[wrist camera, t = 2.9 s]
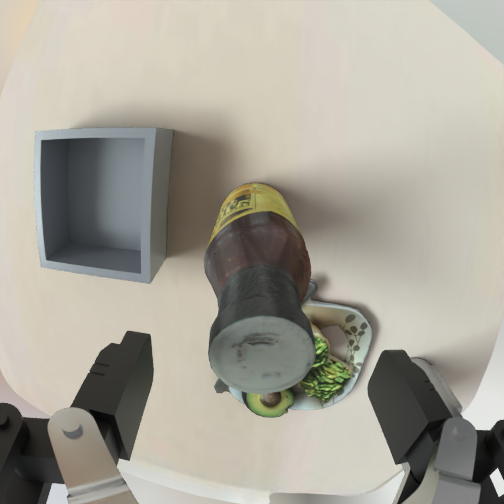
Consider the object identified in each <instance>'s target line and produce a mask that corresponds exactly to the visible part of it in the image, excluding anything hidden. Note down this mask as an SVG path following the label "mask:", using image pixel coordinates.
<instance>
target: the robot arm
mask: <svg viewBox="0 0 504 504" xmlns="http://www.w3.org/2000/svg"><path fill="white" fill-rule="evenodd" d="M153 373H154V368H153V357H152V345H151V336H150V334H146V333H140V332H134V331H127V332H126V334H125V336H124V338H123V340H122V342H121V343H120V344H115V343H111V344H109V345H108V346H107V347H105V348H104V349H103V350H101V351H100V353H99V355H98V357H97V358H96V360H95V363H94V364H93V366H92V367H91V369H90V373H88V375H87V377H86V378H85V380H84V382H83V384H82V386H81V388H80V390H79V391H78V393H77V395H76V397H75V399H74V401H73V403H72V405H71V406H70V408H64V409H61V410H59V411H57V412H56V413H55V414H53V415H52V417H51V418H50V419H40V418H26V417H22V415H21V413H20V412H19V410H18V409H17V408H16V407H15V406H13V405H11V404H8V403H0V504H46V502H47V499H48V495H49V492H50V489H51V485H52V483H58V484H65V485H66V487H67V490H68V493H69V495H68V496H67V500H68V503H69V504H138V502H137V500H136V499H135V497H134V495H133V494H132V492H131V490H130V489H129V487H128V485H127V483H126V482H125V480H124V479H123V477H122V476H121V474H120V472H119V470H118V468H117V464H118V460H119V458H120V459H124V460H128V461H130V457H131V454H132V450H133V447H134V443H135V439H136V436H137V432H138V429H139V426H140V422H141V419H142V415H143V412H144V409H145V406H146V402H147V399H148V396H149V393H150V389H151V386H152V382H153ZM368 396H369V399H370V401H371V404H372V406H373V409H374V411H375V414H376V416H377V418H378V421H379V423H380V426H381V428H382V431H383V433H384V436H385V438H386V441H387V444H388V446H389V449H390V451H391V454H392V456H393V459H394V462H395V464H396V465H397V464H402V467H403V469H404V472H405V474H404V477H403V479H402V482H401V485H400V487H399V489H398V492H397V494H396V497H395V499H394V502H393V504H504V494H503V495H502V496H500V497H498V494H497V492H496V490H495V487H494V485H493V483H492V481H491V478H490V475H491V474H492V473H493V472H494V471H495V470H496V469H497V468H498V469H499V471H500V473H501V475H502V477H503V479H504V420H500V421H498V422H497V423H496V424H495V425H494V426H493V428H492V429H491V430H489V431H488V430H476V429H475V427H474V426H473V425H472V424H471V423H470V422H469V421H467V420H465V419H463V417H462V415H461V414H460V413H461V411H462V406H461V404H460V403H459V401H458V400H457V398H456V397H455V395H454V394H453V392H452V391H451V389H450V388H449V386H448V385H447V383H446V382H445V380H444V379H443V377H442V376H441V374H440V373H439V371H438V370H437V368H436V367H435V366H434V365H429V364H428V363H427V362H426V361H425V360H423V359H419V358H412V359H410V358H409V356H408V355H407V353H406V352H405V351H404V350H384V351H383V352H382V353H381V355H380V357H379V360H378V362H377V364H376V367H375V369H374V371H373V373H372V376H371V378H370V380H369V383H368Z"/></svg>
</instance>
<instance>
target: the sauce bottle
mask: <svg viewBox="0 0 504 504" xmlns="http://www.w3.org/2000/svg"><path fill="white" fill-rule="evenodd" d="M204 268H205V273H206V276H207V278H208V280H209V282H210V283H211V285H212V287H213V290H214V292H215V294H216V297H217V299H218V307H219V311H218V316H217V318H216V319H215V321H214V323H213V325H212V327H211V330H210V339H209V351H208V355H209V361H210V365H211V368H212V370H213V371H214V372H215V374H216V375H217V376H218V377H219V378H220V379H221V380H222V381H223V382H224V383H225V384H227V385H228V386H230V387H232V388H234V389H236V390H238V391H243V392H246V393H252V394H268V393H273V392H280V391H282V390H284V389H287V388H290V387H292V386H293V385H295V384H297V383H298V382H300V381H301V380H302V379H303V378H304V377H305V376H306V375H307V373H308V372H309V370H310V369H311V367H312V366H313V364H314V362H315V358H316V346H315V339H314V335H313V331H312V327H311V324H310V322H309V319H308V318H307V316H306V315H305V314H304V312H303V311H302V309H301V303H302V302H303V299H304V297H305V296H306V294H307V291H308V288H309V283H310V277H311V265H310V259H309V256H308V251H307V250H306V246H305V242H304V239H303V237H302V235H301V233H300V230H299V228H298V226H297V224H296V222H295V220H294V217H293V215H292V213H291V211H290V209H289V206H288V204H287V203H286V201H285V199H284V198H283V196H282V195H281V194H280V193H279V192H278V191H276V190H275V189H273V188H272V187H270V186H269V185H267V184H263V183H250V184H244V185H242V186H240V187H239V188H237V189H235V190H234V191H232V192H231V193H230V194H229V195H228V196H227V198H226V199H225V201H224V202H223V204H222V207H221V210H220V212H219V215H218V218H217V221H216V224H215V227H214V229H213V232H212V235H211V238H210V241H209V244H208V247H207V250H206V254H205V259H204Z"/></svg>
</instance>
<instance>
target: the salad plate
mask: <svg viewBox="0 0 504 504" xmlns="http://www.w3.org/2000/svg"><path fill="white" fill-rule="evenodd" d="M316 290H317V284H316V282H315V281H314V280H312V279H310V283H309V288H308V291H307V294H306V296H305V297H304V299H303V302H302V303H301V309H302V311H303V312H304V314H305V315H306V316H307V318H308V319H309V322H310V324H311V327H312V331H313V335H314V339H315V346H316V358H315V362H314V364H313V366H312V367H311V369H310V370H309V372H308V373H307V375H306V376H305V377H304V378H303V379H302V380H301V381H300V382H298V383H297V384H295V385H293V386H292V387H290V388H287V389H284V390H282V391H280V392H273V393H268V394H252V393H246V392H243V391H238V390H236V389H234V388H232V387H230V386H228V385H227V384H225V383H224V382H223V381H222V380H221V379H220V378H219V379H218V380H217V382H216V384H215V385H214V388H215V390H216V393H223V392H224V391H228V392H230V393H231V394H232V395H233V396H234V397H235V398H236V399H237V400H238V401H240V402H241V403H243V404H245V405H246V406H247V407H248V409H250V410H251V411H252V412H254V413H255V414H257V415H259V416H263V417H280V416H282V415H283V414H284V413H287V412H288V409H293V410H316V409H323V408H326V407H329V406H331V405H333V404H335V403H337V402H339V401H340V400H341V399H343V398H345V397H346V396H347V395H348V394H349V393H350V391H351V390H352V388H353V387H354V385H355V382H356V380H357V378H358V375H359V373H360V370H361V367H362V365H363V363H364V360H365V357H366V355H367V354H368V350H369V347H370V343H371V340H372V330H371V327H370V322H369V321H368V320H367V319H366V317H365V316H364V314H363V313H362V312H361V311H360V310H359V309H356V308H353V307H348V306H344V305H340V304H334V303H326V302H319V301H313V300H312V299H311V296H312V295H313V294H314V293H315V292H316ZM334 325H338V326H339V327H340V328H341V329H342V330H343V331H344V333H345V336H346V338H347V341H348V351H347V356H346V359H345V362H343V361H341V360H340V359H338V358H336V357H334V356H332V355H331V352H330V343H329V341H328V339H327V338H326V337H325V336H324V335H323V334H322V333H321V332H320V330H321V329H322V328H324V327H328V326H334Z"/></svg>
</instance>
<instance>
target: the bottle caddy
mask: <svg viewBox="0 0 504 504" xmlns="http://www.w3.org/2000/svg"><path fill="white" fill-rule="evenodd" d="M173 132H174V130H171V129H162V128H133V127H115V128H78V129H60V130H47V131H35V144H34V200H35V217H36V230H37V240H38V249H39V257H40V264H41V267H43V268H49V269H55V270H61V271H67V272H73V273H79V274H86V275H92V276H99V277H106V278H113V279H120V280H127V281H134V282H141V283H149V284H151V282H152V280H153V279H154V277H155V275H156V274H157V272H158V270H159V269H160V267H161V265H162V264H163V262H164V261H165V259H166V238H167V213H168V194H169V179H170V165H171V153H172V142H173Z"/></svg>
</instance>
